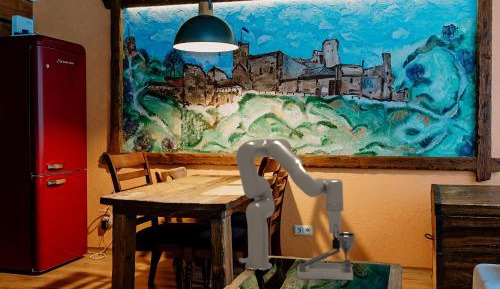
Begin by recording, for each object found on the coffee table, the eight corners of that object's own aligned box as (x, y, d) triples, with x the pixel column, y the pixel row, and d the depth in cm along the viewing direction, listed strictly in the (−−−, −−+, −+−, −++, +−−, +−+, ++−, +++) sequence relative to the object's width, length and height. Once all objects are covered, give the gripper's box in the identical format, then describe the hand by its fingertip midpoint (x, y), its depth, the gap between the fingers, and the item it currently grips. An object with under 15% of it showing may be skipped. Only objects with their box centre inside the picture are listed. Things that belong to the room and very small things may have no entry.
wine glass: (355, 267, 257) (355, 235, 256) (338, 267, 257) (338, 236, 256) (352, 263, 265) (352, 232, 264) (336, 263, 265) (336, 232, 264)
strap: (302, 268, 243) (301, 265, 243) (303, 264, 248) (301, 262, 248) (340, 251, 240) (338, 249, 240) (339, 249, 245) (338, 246, 245)
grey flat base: (297, 278, 241) (297, 262, 240) (298, 272, 251) (298, 256, 250) (353, 280, 238) (352, 264, 237) (351, 273, 248) (351, 258, 247)
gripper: (325, 204, 250) (327, 244, 251) (326, 210, 235) (327, 252, 236) (342, 204, 249) (344, 244, 250) (344, 209, 234) (345, 252, 235)
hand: (336, 248), depth 243 cm, fingers closed
